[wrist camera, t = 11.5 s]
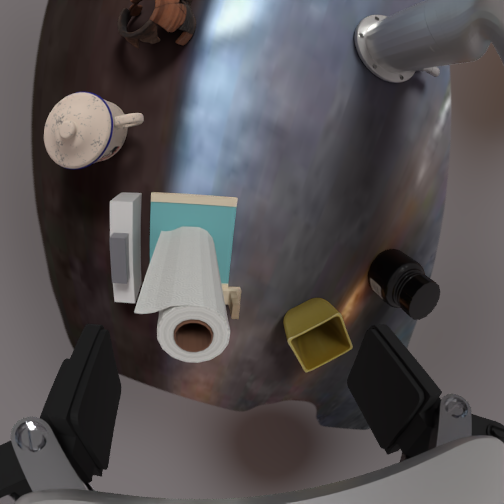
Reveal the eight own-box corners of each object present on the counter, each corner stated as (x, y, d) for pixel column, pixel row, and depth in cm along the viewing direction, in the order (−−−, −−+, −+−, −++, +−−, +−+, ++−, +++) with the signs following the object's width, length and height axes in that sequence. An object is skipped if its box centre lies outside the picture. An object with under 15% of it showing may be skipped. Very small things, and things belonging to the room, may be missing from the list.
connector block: (141, 193, 39) (129, 205, 32) (141, 283, 44) (132, 311, 36) (121, 192, 38) (105, 204, 31) (123, 282, 43) (111, 309, 36)
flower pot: (290, 341, 53) (305, 374, 45) (272, 308, 49) (286, 340, 41) (332, 319, 53) (353, 348, 45) (318, 283, 49) (340, 311, 41)
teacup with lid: (75, 168, 36) (37, 181, 25) (69, 108, 32) (29, 102, 21) (153, 152, 37) (136, 157, 26) (147, 89, 34) (128, 71, 23)
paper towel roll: (221, 253, 44) (243, 347, 24) (185, 271, 44) (181, 373, 24) (198, 210, 41) (201, 281, 21) (161, 230, 41) (133, 314, 21)
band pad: (236, 197, 42) (237, 198, 41) (227, 288, 47) (227, 290, 46) (152, 192, 39) (151, 193, 38) (150, 285, 44) (150, 287, 43)
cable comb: (239, 286, 47) (245, 305, 42) (238, 300, 48) (243, 319, 43) (176, 284, 45) (174, 302, 40) (176, 297, 46) (174, 316, 41)
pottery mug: (177, 65, 34) (138, 51, 26) (139, 45, 34) (101, 32, 27) (226, -2, 28) (196, -28, 21) (182, -16, 29) (149, -37, 22)
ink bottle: (357, 287, 51) (392, 323, 40) (376, 242, 48) (418, 271, 38) (394, 294, 54) (430, 326, 43) (412, 253, 51) (453, 280, 40)
